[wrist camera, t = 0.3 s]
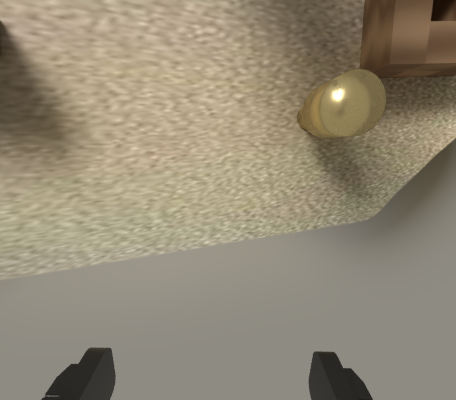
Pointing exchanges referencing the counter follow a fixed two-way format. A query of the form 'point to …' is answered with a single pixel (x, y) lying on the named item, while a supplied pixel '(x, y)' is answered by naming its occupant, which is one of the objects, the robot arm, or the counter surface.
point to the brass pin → (344, 105)
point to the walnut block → (409, 38)
